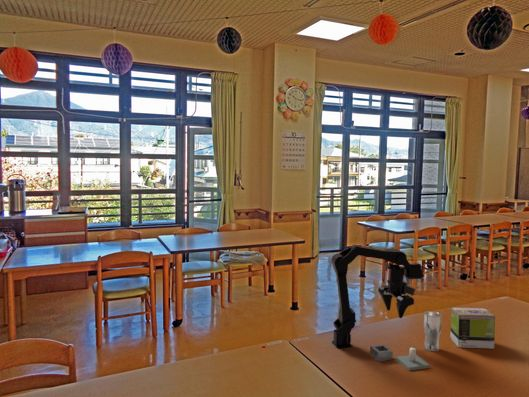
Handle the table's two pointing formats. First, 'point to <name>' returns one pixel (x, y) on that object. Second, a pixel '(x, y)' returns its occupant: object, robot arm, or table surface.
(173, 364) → the table surface
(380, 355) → the square ring block
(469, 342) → the tea box
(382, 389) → the table surface
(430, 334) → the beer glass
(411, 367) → the shaft block
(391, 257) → the robot arm
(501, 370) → the table surface
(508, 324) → the table surface
